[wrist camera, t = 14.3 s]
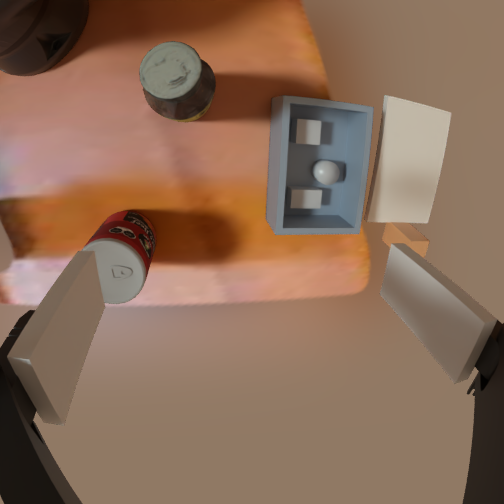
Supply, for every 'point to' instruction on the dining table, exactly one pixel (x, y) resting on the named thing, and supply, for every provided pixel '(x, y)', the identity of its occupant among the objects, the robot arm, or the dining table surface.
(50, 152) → the dining table surface
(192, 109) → the sauce bottle
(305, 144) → the tub
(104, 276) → the canned food
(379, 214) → the lid
